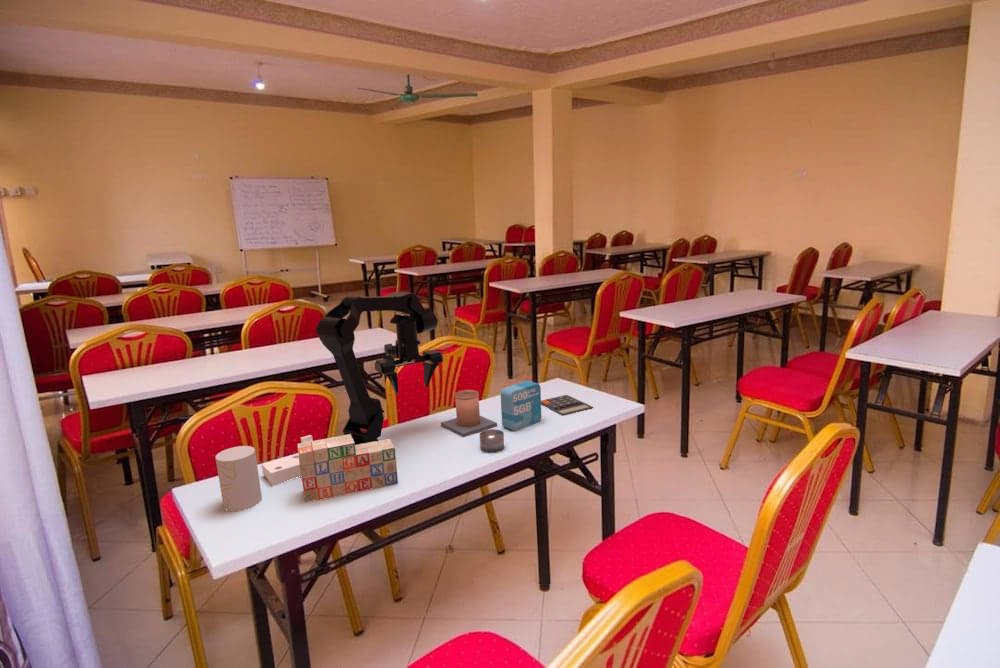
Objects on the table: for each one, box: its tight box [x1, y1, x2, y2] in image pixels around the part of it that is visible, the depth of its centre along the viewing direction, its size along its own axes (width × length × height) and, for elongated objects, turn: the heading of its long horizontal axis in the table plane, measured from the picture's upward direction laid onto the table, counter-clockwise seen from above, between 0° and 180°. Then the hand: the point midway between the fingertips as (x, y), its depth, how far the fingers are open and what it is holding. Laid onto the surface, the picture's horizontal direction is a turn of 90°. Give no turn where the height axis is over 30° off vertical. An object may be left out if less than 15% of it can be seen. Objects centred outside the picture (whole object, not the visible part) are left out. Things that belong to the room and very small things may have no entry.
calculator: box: [541, 394, 594, 416], centre depth 189 cm, size 12×1×15 cm
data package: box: [500, 380, 542, 432], centre depth 173 cm, size 12×4×12 cm, turn 131°
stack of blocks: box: [297, 434, 399, 503], centre depth 139 cm, size 21×6×12 cm, turn 111°
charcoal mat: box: [440, 415, 498, 438], centre depth 175 cm, size 12×12×1 cm
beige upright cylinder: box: [215, 445, 263, 512], centre depth 134 cm, size 8×8×12 cm
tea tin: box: [479, 428, 505, 454], centre depth 158 cm, size 6×6×4 cm
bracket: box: [261, 434, 314, 486], centre depth 149 cm, size 13×7×8 cm, turn 129°
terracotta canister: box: [454, 389, 481, 427], centre depth 174 cm, size 7×7×9 cm
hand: (411, 390), depth 169 cm, fingers open, 9 cm apart
